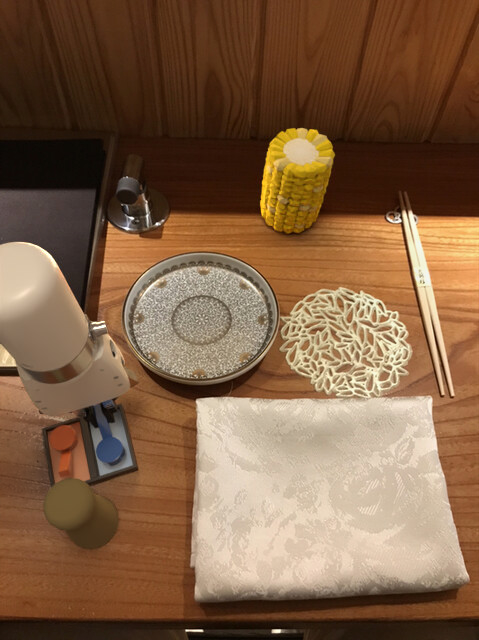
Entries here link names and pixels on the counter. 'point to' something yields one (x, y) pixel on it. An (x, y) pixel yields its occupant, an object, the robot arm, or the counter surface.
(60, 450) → the terracotta spoon
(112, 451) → the blue spoon
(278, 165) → the food
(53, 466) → the sorting tray
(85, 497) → the olive waisted cylinder
